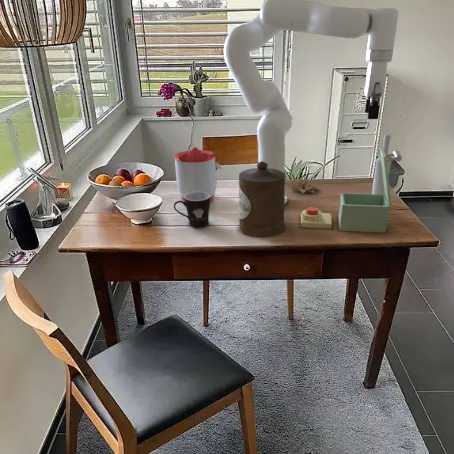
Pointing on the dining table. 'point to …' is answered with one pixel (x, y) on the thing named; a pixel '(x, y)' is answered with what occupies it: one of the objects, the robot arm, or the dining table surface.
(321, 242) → the dining table surface
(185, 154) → the citrus juicer
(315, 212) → the button
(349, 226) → the compartment
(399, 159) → the lid
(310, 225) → the control block
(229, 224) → the dining table surface
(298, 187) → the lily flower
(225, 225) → the dining table surface
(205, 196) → the coffee mug
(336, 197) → the dining table surface
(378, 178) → the bottle
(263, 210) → the wooden container
